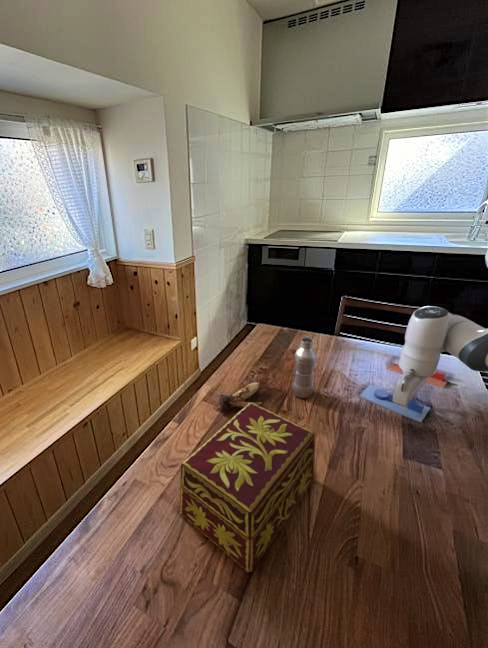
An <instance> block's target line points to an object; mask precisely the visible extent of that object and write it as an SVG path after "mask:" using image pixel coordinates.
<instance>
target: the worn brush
mask: <svg viewBox="0 0 488 648" xmlns="http://www.w3.org/2000/svg"><path fill="white" fill-rule="evenodd" d="M260 389H261V384H260V383H259V382H258V381H256V382H255V381H254V382H251V383H249V384H246V385H245V386H243V387H242V388H240V389H239V390H238V391H236V392H234V393H233V394H231V395H230V396H229V395H227V394H219V395H218V398H219V399H218V402H219V405H218V406H217V411H218V412H220V413H225V412H226V413H228V412H230V411H231V410H232V409H233V408H236V407H237V408H242V409H243V408H244V407H245V406H246V405H247V404H249V403H250V401H249V402H248V401H247V400H248V399H249V398H250V397H252V396H253V395H254V394H255V393H256V392H258V390H260ZM251 403H253V404H256V405H258V406H260V407H261V406H262V405H263V404H262V403H263V401H261V402H254V401H253V402H252V401H251ZM227 411H228V412H227Z"/></svg>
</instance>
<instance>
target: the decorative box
mask: <svg viewBox="0 0 488 648" xmlns="http://www.w3.org/2000/svg"><path fill="white" fill-rule="evenodd" d="M249 402H250V401H249ZM251 402H252V401H251ZM251 402H250V403H249V404H247V405H246V406H245V407H244V408H242V409H241V410H239V411H238V412H237V413H236V414H235V415H234V416H232V418H231V419H229V420H228V421H227V422H225V424H223V425H222V426H221V427H220V428H219V429H218V430H217V431H216V432H215V433H214V434H212V435H211V436H210V437H208V438H207V440H205V441H204V442H203V443H202V444H201V445H200V446H199V447H198V448H196V449H195V450H194V451H193V452H192V453H191V454H190V455H189V456H188V457H186V458H185V459H184V460H183V461H182V462H181V465H180V485H179V486H180V487H179V491H180V493H179V514H180V515H181V516H182V517H183V518H184V517H185V518H186V519H187V520H186V519H185V518H184V519H185V520H186V521H188V522H189V524H191V525H192V524H193V525H194V526H193V525H192V526H193V527H194V528H196V529H197V530H198V531H199V530H200V531H201V532H200V531H199V532H200V533H201V534H202V535H203V536H205V537H206V538H207V537H208V538H209V541H210V542H212V543H213V544H214V543H215V544H216V545H215V544H214V545H215V546H216V547H217V548H218V549H220V550H221V549H222V550H223V551H224V554H226V556H228V557H229V556H230V557H231V558H230V557H229V558H230V559H231V560H232V561H234V562H235V563H236V562H237V563H238V564H237V563H236V564H237V565H238V566H239V567H241V568H242V569H243V568H244V569H245V570H244V569H243V570H244V571H246V572H247V573H248V572H249V573H248V574H251V573H252V572H253V571H254V569H255V567H256V566H257V564H258V563H259V562H260V560H261V559H260V558H262V557H263V556H264V554H265V553H266V551H267V550H268V548H269V547H270V546H271V545H272V542H273V541H274V540H275V538H276V537H277V535H278V534H277V533H279V532H280V531H281V529H282V528H283V526H284V525H285V523H286V522H287V521H288V519H289V517H290V516H291V514H292V513H293V511H294V510H295V509H296V507H297V506H296V505H298V504H299V502H300V501H301V500H302V498H303V497H304V495H305V494H306V493H307V491H308V490H309V488H310V487H311V485H312V484H313V482H314V480H315V478H316V476H315V474H316V466H315V465H316V462H315V461H316V453H315V452H316V434H315V432H314V431H313V430H311V429H309V428H306V427H304V426H302V425H300V424H298V423H296V422H294V421H292V420H290V419H287V418H286V417H283V416H281V415H278V414H276V413H275V412H273V411H270V410H268V409H266V408H264V407H262V406H261V405H260V406H258V405H256V404H253V403H251ZM208 538H207V539H208ZM222 550H221V551H222ZM223 551H222V552H223ZM250 572H251V573H250Z"/></svg>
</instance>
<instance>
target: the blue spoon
mask: <svg viewBox="0 0 488 648" xmlns="http://www.w3.org/2000/svg"><path fill="white" fill-rule="evenodd" d="M381 389H382V388H381ZM381 389H377V390H375V391H374V396H375V397H376V398H377V399H380V400H388V401H390V402H393V395H394V392H393V391H388V390H386V389H383V390H381ZM385 390H386V391H385ZM387 391H388V392H390V393H388V392H387ZM393 403H394V402H393ZM395 404H396V403H395ZM424 405H425V404H423V403H421V402H418V401H416V400H411V402H410V403H409V406H408V408H407V409H410V410H412V411H415V412H417V413H420V414H421V412H422V411H423V407H424Z"/></svg>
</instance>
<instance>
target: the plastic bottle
mask: <svg viewBox="0 0 488 648" xmlns="http://www.w3.org/2000/svg"><path fill="white" fill-rule="evenodd" d="M314 341H315V340H314V339H313V338H312V337H308V336H305V337H301V339H300V344H299V347H298V348H297V349H296V351H295V353H294V359H295V374H294V380H293V381H292V386H291V387H292V393H293V394H294V395H295V396H296V397H297V398H300V399H308V398H310V397H311V396H313V392H314V382H313V381H314V372H315V371H314V370H315V366H316V361H317V357H318V355H317V352H316V350H315V349H314V346H315V345H314V343H315V342H314Z"/></svg>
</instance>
